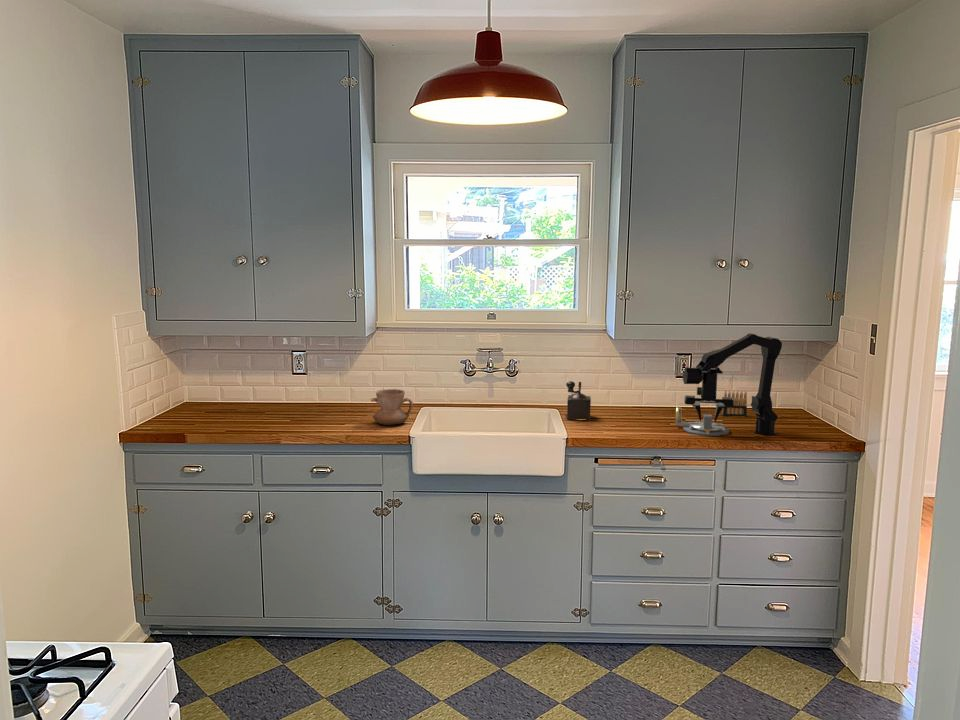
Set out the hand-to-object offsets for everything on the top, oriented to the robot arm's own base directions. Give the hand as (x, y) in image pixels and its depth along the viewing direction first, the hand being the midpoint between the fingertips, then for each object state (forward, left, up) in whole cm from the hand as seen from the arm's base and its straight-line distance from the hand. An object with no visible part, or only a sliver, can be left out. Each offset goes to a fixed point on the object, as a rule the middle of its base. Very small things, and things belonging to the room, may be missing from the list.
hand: (707, 421), depth 284 cm
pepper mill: (+48, +29, -5) cm, 56 cm away
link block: (0, 0, -2) cm, 2 cm away
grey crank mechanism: (+5, -2, -4) cm, 7 cm away
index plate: (+3, -3, -5) cm, 7 cm away
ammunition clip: (+16, -37, -5) cm, 40 cm away
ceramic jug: (+82, +104, -5) cm, 132 cm away
